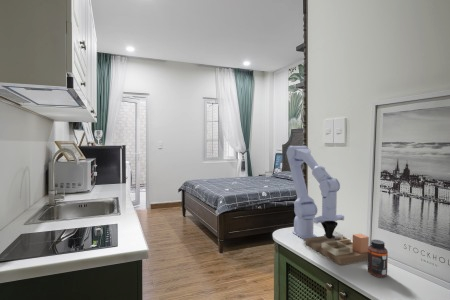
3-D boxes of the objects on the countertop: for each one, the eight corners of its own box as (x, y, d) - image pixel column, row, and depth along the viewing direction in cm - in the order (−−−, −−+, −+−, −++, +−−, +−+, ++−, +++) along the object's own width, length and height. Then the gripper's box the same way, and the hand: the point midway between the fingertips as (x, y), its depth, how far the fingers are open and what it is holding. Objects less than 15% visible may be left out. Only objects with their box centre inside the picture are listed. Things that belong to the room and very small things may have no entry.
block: (327, 239, 116) (327, 232, 116) (335, 238, 117) (335, 231, 117) (334, 243, 112) (334, 236, 112) (343, 241, 113) (343, 234, 113)
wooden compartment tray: (305, 244, 117) (305, 235, 117) (334, 239, 122) (334, 231, 122) (340, 265, 97) (340, 254, 97) (373, 258, 102) (373, 248, 102)
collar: (321, 247, 107) (321, 242, 107) (337, 245, 109) (337, 240, 109) (335, 255, 99) (335, 250, 99) (352, 252, 102) (352, 247, 102)
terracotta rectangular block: (352, 249, 105) (352, 234, 105) (360, 248, 106) (360, 233, 106) (360, 253, 101) (360, 238, 101) (368, 252, 103) (368, 236, 102)
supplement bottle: (390, 279, 87) (391, 245, 87) (370, 277, 89) (371, 244, 88) (383, 270, 93) (383, 238, 93) (365, 268, 95) (365, 237, 94)
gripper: (321, 210, 107) (321, 243, 107) (349, 207, 112) (349, 239, 112) (310, 206, 114) (310, 237, 114) (337, 203, 118) (337, 233, 119)
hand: (328, 237), depth 113 cm, fingers closed
